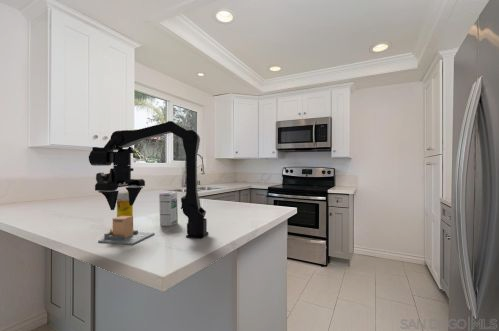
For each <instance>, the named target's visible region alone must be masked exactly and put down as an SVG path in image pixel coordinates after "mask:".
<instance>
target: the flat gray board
mask: <svg viewBox="0 0 499 331" xmlns="http://www.w3.org/2000/svg"><path fill="white" fill-rule="evenodd" d="M155 234H156V233H155V232H145V231H144V232H143V231H139V230H137V229H133V235H132V236H129V237H127V238H125V239H124V236H118V235H113V228H111V229H109V232H105V233H104V236H103V238H101V239H99V240H98V241H97V243H103V244H114V245H115V244H116V245H129V246H135V245H136V244H138V243H140V242H142V241H144V240H146V239H148V238H150V237H152V236H154V235H155Z"/></svg>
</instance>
